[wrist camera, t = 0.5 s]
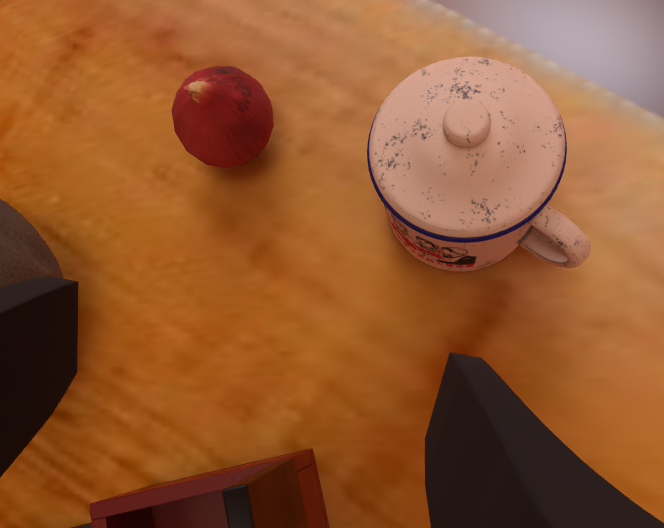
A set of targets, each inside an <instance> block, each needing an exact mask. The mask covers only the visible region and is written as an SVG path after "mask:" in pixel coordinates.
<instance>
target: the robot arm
mask: <svg viewBox="0 0 664 528" xmlns="http://www.w3.org/2000/svg"><path fill="white" fill-rule="evenodd" d="M77 331H78V282H77V281H72V280H66V279H61V278H56V277H50V276H43V277H37V278H33V279H29V280H25V281H21V282H18V283H14V284H11V285H7V286H4V287H1V288H0V477H1V476H2V475H3V474H4V472H5V471H6V470H7V469H8V468H9V466H10V465H11V464H12V463H13V462H14V460H15V459H16V458H17V457H18V455H19V454H20V453H21V452H22V451H23V449H24V448H25V447H26V446H27V445H28V443H29V442H30V441H31V440H32V438H33V437H34V436H35V435H36V433H37V432H38V431H39V430H40V429H41V427H42V426H43V425H44V424H45V422H46V421H47V420H48V419H49V417H50V416H51V415H52V413H53V412H54V410H55V408H56V407H57V405H58V404H59V402H60V401H61V399H62V397H63V396H64V394H65V392H66V391H67V389H68V387H69V385H70V384H71V382H72V380H73V378H74V377H75V375H76V373H77ZM425 486H426V494H427V502H428V509H429V516H430V524H431V528H664V523H663V522H661V521H660V520H658V519H657V518H655V517H654V516H653V515H651V514H650V513H648V512H647V511H645V510H644V509H643V508H641V507H640V506H638V505H637V504H636V503H634V502H633V501H632V500H630V499H629V498H628V497H626V496H625V495H624V494H622V493H621V492H620V491H619V490H617V489H616V488H615V487H614V486H612V485H611V484H610V483H609V482H607V481H606V480H605V479H604V478H602V477H601V476H600V475H599V474H597V473H596V472H595V471H594V470H593V469H591V468H590V467H589V466H588V465H587V464H586V463H584V462H583V461H582V460H581V459H580V458H579V457H578V456H577V455H576V454H574V453H573V452H572V451H571V450H570V449H569V448H568V447H567V446H566V445H565V444H564V443H563V442H562V441H561V440H560V439H559V438H557V437H556V436H555V435H554V434H553V433H552V432H551V431H550V430H549V429H548V428H547V427H546V426H545V425H544V424H543V423H542V422H541V421H540V420H539V419H538V418H537V417H536V415H535V414H534V413H533V412H532V411H531V410H530V409H529V408H528V407H527V406H526V405H525V404H524V403H523V402H522V401H521V399H520V398H519V397H518V396H517V395H516V394H515V393H514V392H513V391H512V390H511V389H510V387H509V386H508V385H507V384H506V383H505V382H504V381H503V380H502V379H501V377H500V376H499V375H498V374H497V373H496V372H495V371H494V370H493V369H492V368H491V367H490V366H489V365H488V364H487V363H486V362H485V361H484V360H483V359H482V358H479V357H474V356H468V355H463V354H458V353H452V352H450V353H449V357H448V360H447V364H446V367H445V371H444V374H443V378H442V381H441V385H440V388H439V392H438V395H437V399H436V402H435V406H434V409H433V413H432V416H431V420H430V423H429V427H428V430H427V434H426V437H425Z"/></svg>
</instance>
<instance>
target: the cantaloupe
mask: <svg viewBox="0 0 664 528" xmlns="http://www.w3.org/2000/svg"><path fill="white" fill-rule="evenodd" d="M43 276H50V277H56V278H61V279H63V275H62V272H61V270H60V267H59V265H58V262H57V260H56V258H55V257H54V255H53V253H52V252H51V250H50V248H49V247H48V245H47V244H46V242H45V241H44V240H43V238H42V237H41V236H40V234H39V233H38V232H37V231H36V230H35V228H34V227H33V226H32V225H31V224H30V223H29V222H28V221H27V220H26V219H25V218H24V217H23V216H22V215H21V214H20V213H19V212H17V211H16V210H15V209H14V208H13V207H11V206H10V205H9V204H7V203H6V202H5V201H3V200H1V199H0V288H1V287H4V286H7V285H11V284H14V283H18V282H21V281H25V280H29V279H33V278H37V277H43Z"/></svg>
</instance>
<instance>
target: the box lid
mask: <svg viewBox="0 0 664 528" xmlns="http://www.w3.org/2000/svg"><path fill="white" fill-rule="evenodd" d="M222 495H223V500H224V506H225V512H226V518H227V523H228V528H309V526H308V521H307V516H306V511H305V506H304V501H303V496H302V492H301V487H300V482H299V477H298V472H297V467H296V462H295V458H293V457H292V458H288V459H283V460H280V461H278V462H276V463H274V464H272V465H270V466H268V467H266V468H264V469H262V470H260V471H258V472H256V473H254V474H252V475H250V476H248V477H246V478H244V479H242V480H240V481H238V482H236V483H234V484H232V485H230V486H228V487H226V488H224V489H223V490H222Z"/></svg>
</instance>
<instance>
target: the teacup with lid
mask: <svg viewBox="0 0 664 528" xmlns="http://www.w3.org/2000/svg"><path fill="white" fill-rule="evenodd" d="M566 153H567V142H566V134H565V129H564V125H563V122H562V119H561V116H560V114H559V112H558V110H557V108H556V105H555V104H554V102H553V101H552V99H551V97H550V96H549V95H548V93H547V92H546V91H545V90H544V89H543V87H542V86H541V85H540V84H539V83H538V82H536V81H535V80H534V79H533V78H532V77H530V76H529V75H528V74H526V73H525V72H523V71H521V70H520V69H518V68H516V67H514V66H511V65H509V64H507V63H504V62H501V61H498V60H494V59H489V58H482V57H458V58H451V59H446V60H442V61H439V62H435V63H433V64H430V65H428V66H426V67H424V68H421V69H419V70H418V71H416V72H414V73H413V74H411V75H410V76H408V77H407V78H406V79H404V80H403V81H402V82H401V83H400V84H399V85H397V86H396V87H395V88H394V90H393V91H392V92H391V93H390V94H389V95H388V97H387V98H386V99H385V101H384V102H383V104H382V105H381V107H380V109H379V110H378V112H377V114H376V116H375V119H374V121H373V124H372V126H371V130H370V134H369V139H368V149H367V158H368V167H369V172H370V176H371V179H372V182H373V185H374V187H375V189H376V191H377V193H378V195H379V197H380V198H381V200H382V202H383V203H384V206H385V209H386V212H387V216H388V219H389V222H390V225H391V228H392V230H393V232H394V234H395V236H396V237H397V239H398V241H399V242H400V243H401V244H402V246H403V247H404V248H405V249H406V250H407V251H408V252H409V253H410V254H412V255H413V256H414V257H415V258H417V259H418V260H420V261H422V262H423V263H425V264H428V265H430V266H432V267H435V268H438V269H442V270H447V271H458V272H462V271H472V270H477V269H481V268H485V267H487V266H490V265H492V264H494V263H496V262H498V261H500V260H502V259H503V258H505V257H506V256H507V255H509V254H510V253H511V252H512V251H513V250H514V249H515V248H516V247H517V246H518V245H520V246H522V247H523V248H525V249H526V250H527V251H529V252H530V253H532V254H533V255H535V256H537V257H538V258H540V259H542V260H544V261H546V262H548V263H550V264H553V265H556V266H559V267H564V268H575V267H577V266H579V265H581V264H582V263H583V262H584V261H585V259H586V258H587V257H588V255H589V254H590V251H591V246H590V242H589V240H588V239H587V237H586V236H585V234H584V233H583V232H582V231H581V229H580V228H579V227H578V226H577V225H575V224H574V223H573V222H572V221H571V220H570V219H568V218H567V217H566V216H564V215H563V214H562V213H560V212H559V211H557V210H556V209H555V208H553V207H552V206H550V205H549V204H547V203H548V201H549V200H550V199H551V197H552V196H553V194H554V192H555V191H556V189H557V187H558V185H559V182H560V180H561V177H562V174H563V171H564V167H565V162H566Z"/></svg>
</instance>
